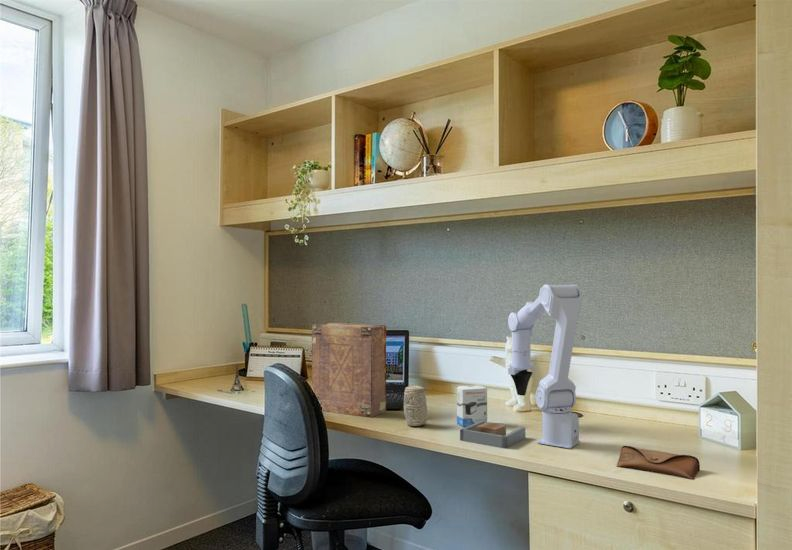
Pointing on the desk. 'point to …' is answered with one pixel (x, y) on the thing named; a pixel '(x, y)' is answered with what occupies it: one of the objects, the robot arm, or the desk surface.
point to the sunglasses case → (658, 462)
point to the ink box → (471, 405)
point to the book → (349, 368)
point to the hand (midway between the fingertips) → (521, 394)
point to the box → (491, 436)
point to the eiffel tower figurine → (235, 384)
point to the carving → (415, 406)
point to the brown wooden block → (492, 428)
